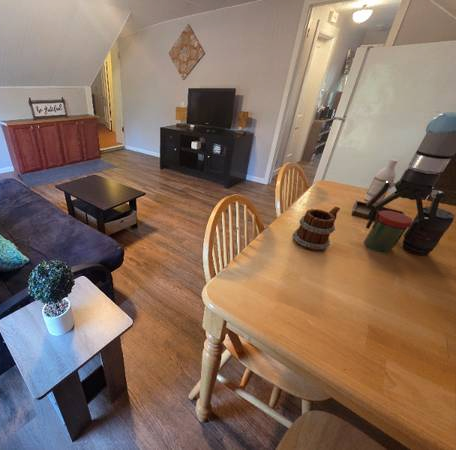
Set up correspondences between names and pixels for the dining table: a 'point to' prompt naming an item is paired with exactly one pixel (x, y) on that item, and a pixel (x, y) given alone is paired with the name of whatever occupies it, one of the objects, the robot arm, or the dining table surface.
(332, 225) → the mug
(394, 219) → the lid
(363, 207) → the tray
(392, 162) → the bath foam
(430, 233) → the camera lens
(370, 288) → the dining table surface
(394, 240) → the jar
